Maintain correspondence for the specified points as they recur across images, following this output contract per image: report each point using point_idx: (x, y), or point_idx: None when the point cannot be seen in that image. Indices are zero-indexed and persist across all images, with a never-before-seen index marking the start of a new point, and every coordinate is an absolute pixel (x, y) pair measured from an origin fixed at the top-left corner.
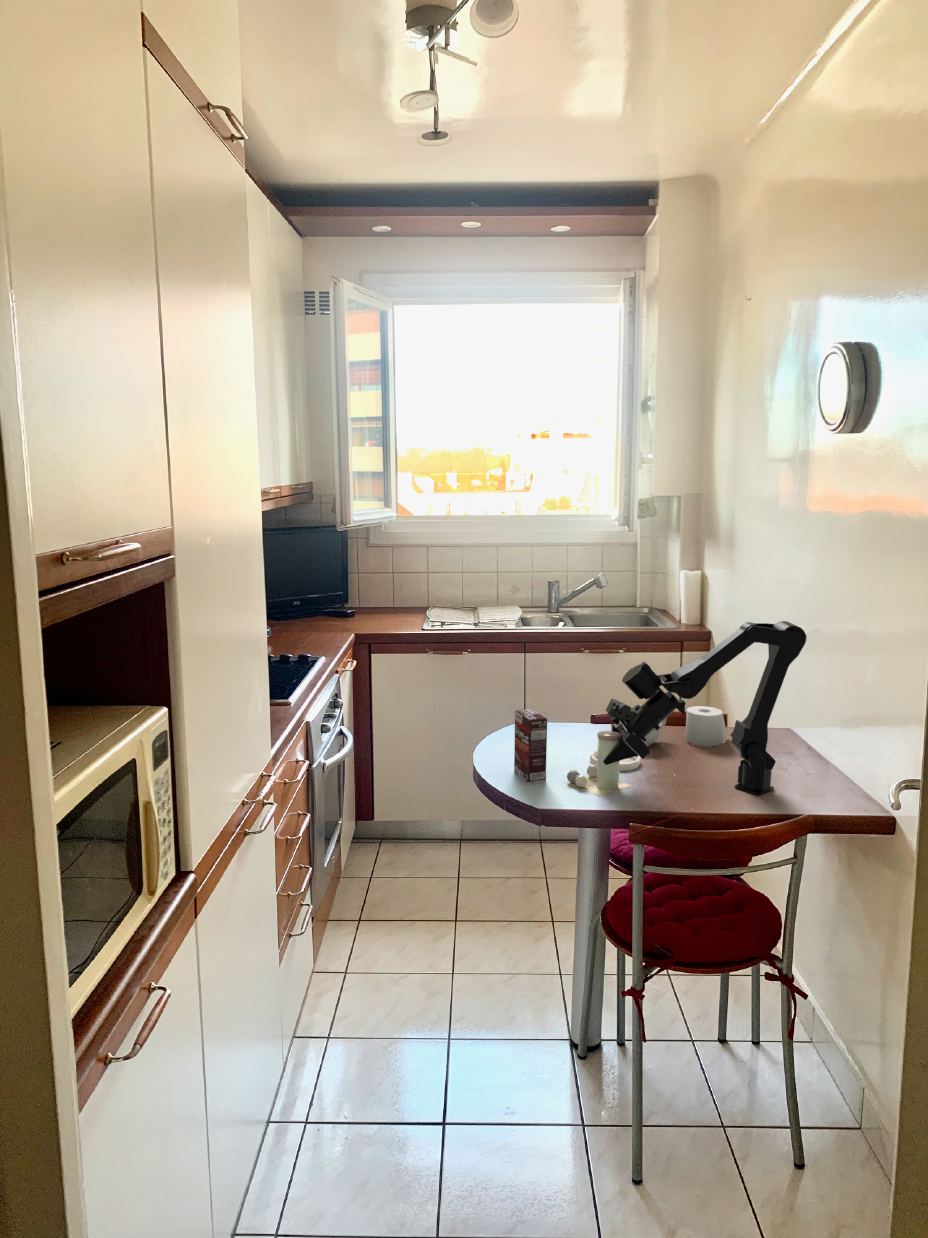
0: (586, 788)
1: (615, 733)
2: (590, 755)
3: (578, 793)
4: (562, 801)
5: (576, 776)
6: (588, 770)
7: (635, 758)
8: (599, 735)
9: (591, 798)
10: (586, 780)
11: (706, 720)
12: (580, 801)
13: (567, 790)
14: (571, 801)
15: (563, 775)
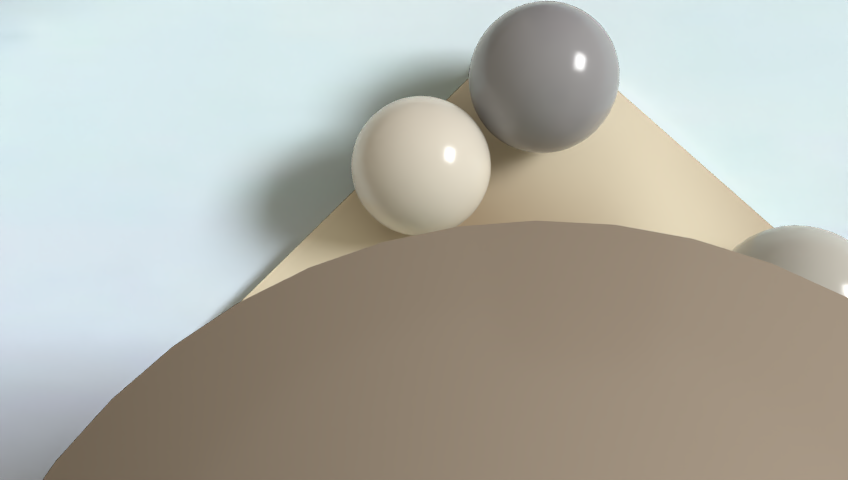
0: (392, 238)
1: None
2: None
3: (300, 165)
4: (83, 26)
5: (482, 101)
6: (749, 243)
7: None
8: (282, 318)
9: (180, 291)
10: (390, 219)
11: None
12: (94, 186)
13: (366, 61)
14: (88, 104)
15: (788, 9)
